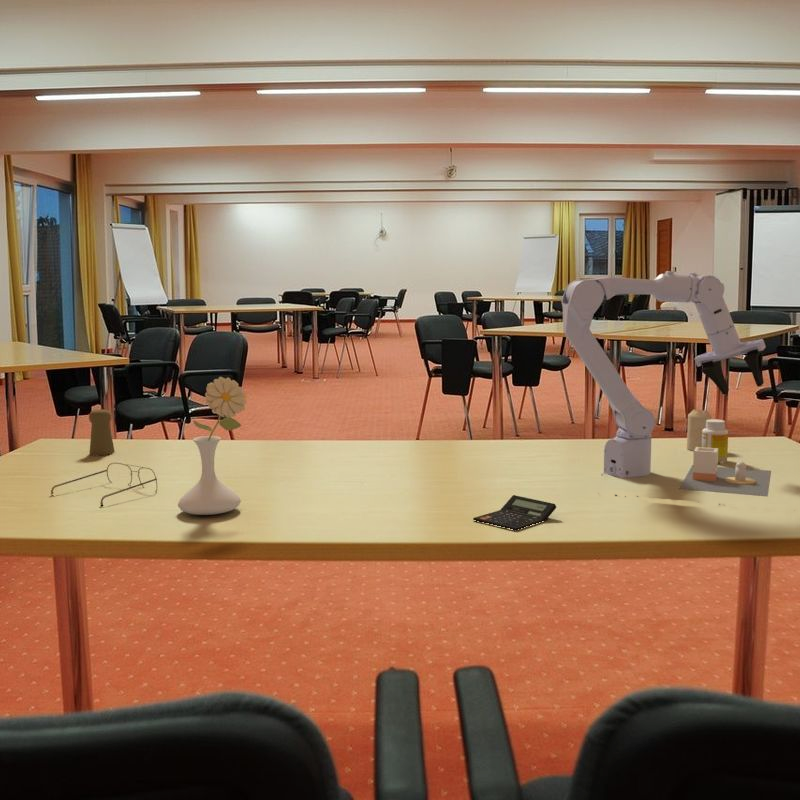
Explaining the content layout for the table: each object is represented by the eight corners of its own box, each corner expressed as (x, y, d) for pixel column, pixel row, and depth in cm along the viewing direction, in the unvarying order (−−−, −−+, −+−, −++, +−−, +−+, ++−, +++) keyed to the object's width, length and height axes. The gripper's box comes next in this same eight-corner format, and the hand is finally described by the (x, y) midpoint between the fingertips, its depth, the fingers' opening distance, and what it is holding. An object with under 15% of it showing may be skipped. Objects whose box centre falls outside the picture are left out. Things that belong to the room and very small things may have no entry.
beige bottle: (712, 448, 217) (714, 408, 215) (707, 452, 212) (708, 411, 211) (689, 446, 220) (691, 407, 218) (684, 450, 215) (685, 410, 214)
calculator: (473, 522, 154) (473, 506, 154) (514, 510, 162) (514, 494, 162) (515, 533, 147) (515, 516, 147) (556, 519, 155) (556, 503, 155)
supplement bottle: (731, 465, 197) (733, 420, 196) (718, 469, 194) (720, 423, 192) (709, 461, 202) (711, 417, 200) (695, 465, 198) (697, 420, 197)
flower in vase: (179, 522, 155) (173, 382, 151) (177, 506, 166) (171, 375, 162) (253, 516, 158) (249, 379, 155) (246, 501, 169) (242, 372, 166)
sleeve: (715, 481, 178) (716, 452, 177) (692, 479, 179) (693, 450, 179) (717, 476, 182) (718, 448, 181) (695, 475, 183) (696, 446, 183)
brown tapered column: (89, 452, 220) (87, 408, 219) (115, 450, 222) (112, 407, 221) (88, 456, 215) (86, 412, 213) (114, 454, 217) (112, 410, 215)
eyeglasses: (163, 492, 179) (161, 468, 178) (101, 508, 167) (100, 483, 166) (112, 483, 188) (111, 460, 187) (50, 497, 176) (49, 473, 175)
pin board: (767, 501, 165) (768, 475, 165) (678, 493, 172) (679, 468, 171) (770, 475, 187) (771, 452, 186) (692, 469, 194) (693, 447, 193)
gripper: (760, 314, 180) (782, 374, 182) (695, 332, 190) (717, 389, 192) (748, 324, 175) (772, 386, 177) (683, 343, 185) (705, 401, 187)
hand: (743, 388), depth 184 cm, fingers open, 7 cm apart
